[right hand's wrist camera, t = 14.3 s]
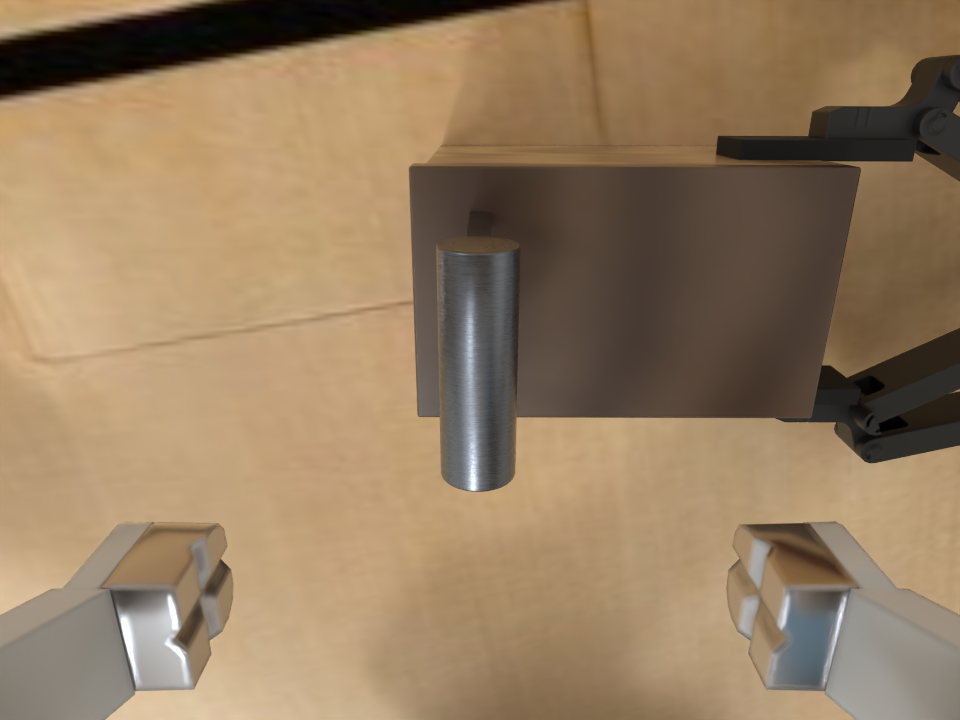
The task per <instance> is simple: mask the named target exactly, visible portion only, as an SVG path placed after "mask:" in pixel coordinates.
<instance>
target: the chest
mask: <svg viewBox="0 0 960 720" xmlns="http://www.w3.org/2000/svg"><path fill="white" fill-rule="evenodd" d="M716 149H717V146H536V145H442V146H441V147H440V148H439V149H438V151H437V152H436V153H435V154H434V155H433V156H432V158H431V159H430V160H429V161H428V162H427V163H426V164H742V165H842V164H838V163H832V162H827V161H822V160H737V159H733V158H728V157H724V156H720V155H716Z"/></svg>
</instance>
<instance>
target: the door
mask: <svg viewBox="0 0 960 720" xmlns="http://www.w3.org/2000/svg"><path fill="white" fill-rule="evenodd" d="M860 171H861V168H859V167H855V166H849V165H742V164H412V165H411V166H410V167H409V183H410V211H411V240H412V269H413V297H414V326H415V354H416V383H417V412H418V416H419V417H440V444H441V474H442V477H443V479H444V480H445V481H446V482H447V483H448V484H450V485H451V486H453V487H456V488H458V489H462V490H466V491H475V492H481V491H490V490H495V489H498V488H501V487H503V486H505V485H507V484H508V483H509V482H510V481H511V480H512V479H513V477H514V475H515V457H516V417H622V418H811V416H812V411H813V406H814V401H815V396H816V391H817V386H818V381H819V376H820V371H821V366H822V361H823V356H824V351H825V346H826V341H827V336H828V331H829V326H830V321H831V316H832V311H833V306H834V301H835V296H836V291H837V286H838V281H839V276H840V271H841V266H842V261H843V256H844V251H845V246H846V241H847V236H848V231H849V226H850V221H851V216H852V211H853V206H854V201H855V196H856V191H857V186H858V181H859V176H860Z"/></svg>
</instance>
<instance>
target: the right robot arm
mask: <svg viewBox="0 0 960 720" xmlns="http://www.w3.org/2000/svg"><path fill="white" fill-rule="evenodd" d="M226 548H227V542H226V537H225V532H224V528H223V527H222V526H220V525H219V524H218V523H174V522H157V523H154V522H125V523H122V524H119V525H117V526H116V527H115V528H114V529H113V531H112V532H111V533H110V534H109V535H108V536H107V538H106V539H105V540H104V541H103V542H102V543H101V544H100V546H99V547H98V548H97V549H96V550H95V551H94V553H93V554H92V555H91V556H90V557H89V558H88V560H87V561H86V562H85V563H84V564H83V565H82V566H81V568H80V569H79V570H78V571H77V572H76V573H75V575H74V576H73V577H72V578H71V579H70V580H69V582H68V583H67V584H66V585H65V586H64V587H63V589H51V590H49V591H47V592H45V593H43V594H41V595H39V596H37V597H35V598H33V599H31V600H29V601H27V602H25V603H23V604H21V605H19V606H17V607H15V608H13V609H11V610H9V611H8V612H6V613H4V614H2V615H0V720H105V719H106V718H107V717H109V716H110V715H111V714H112V713H113V712H115V711H116V710H117V709H118V708H119V707H120V706H122V705H123V704H124V703H125V702H126V701H127V700H129V699H130V698H131V697H132V696H133V695H135V692H134V691H153V690H187V689H194V688H195V686H196V684H197V682H198V680H199V678H200V676H201V674H202V672H203V670H204V668H205V666H206V664H207V662H208V660H209V658H210V656H211V648H210V643H209V640H211V639H212V638H214V637H215V636H216V635H218V634H219V633H221V632H222V631H223V629H224V627H225V624H226V622H227V620H228V618H229V614H230V610H231V605H232V600H233V579H232V572H231V569H230V568H229V567H228V566H227V565H226V564H225V563H224V562H223V561H222V560H221V557H222V555H223V553H224V551H225V550H226ZM733 548H734V550H735V551H736V553H737V555H738V557H739V560H738V561H737V562H736V563H735V564H734V565H733V566H732V567H731V568H730V569H729V572H728V580H727V599H728V607H729V610H730V614H731V618H732V620H733V622H734V624H735V627H736V629H737V631H738V632H739V633H741V634H742V635H744V636H745V637H746V638H748V639H749V640H751V643H750V648H749V656H750V658H751V660H752V662H753V664H754V666H755V668H756V670H757V672H758V674H759V676H760V678H761V680H762V682H763V684H764V686H765V688H766V689H771V690H807V691H825V694H826V695H827V696H828V697H829V698H830V699H832V700H833V701H834V702H835V703H836V704H838V705H839V706H840V707H841V708H842V709H843V710H845V711H846V712H847V713H848V714H849V715H850V716H852V717H853V718H854V719H855V720H960V615H958V614H956V613H954V612H952V611H950V610H948V609H947V608H945V607H943V606H941V605H939V604H937V603H935V602H933V601H931V600H929V599H927V598H925V597H923V596H921V595H919V594H917V593H915V592H913V591H911V590H909V589H897V587H896V586H895V585H894V584H893V583H892V582H891V580H890V579H889V578H888V577H887V576H886V575H885V573H884V572H883V571H882V570H881V569H880V568H879V567H878V565H877V564H876V563H875V562H874V561H873V560H872V558H871V557H870V556H869V555H868V554H867V553H866V551H865V550H864V549H863V548H862V547H861V546H860V545H859V543H858V542H857V541H856V540H855V539H854V538H853V536H852V535H851V534H850V533H849V532H848V531H847V529H846V528H845V527H844V526H843V525H841V524H839V523H837V522H807V523H791V524H739V526H738V528H737V530H736V532H735V536H734V541H733Z"/></svg>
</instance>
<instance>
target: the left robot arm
mask: <svg viewBox="0 0 960 720" xmlns="http://www.w3.org/2000/svg"><path fill="white" fill-rule="evenodd" d="M911 83H912V85H911V87H910V89H909V90H908V92H907V94H906V95H905V96H904V98H903V99H902V100H901V101H899V102H898V103H896V104H894V105H891V106H826V107H823V108H821V109H818V110H815V111H813V112H812V118H811V124H810V130H809V135H808V136H718V141H717V149H716V155H720V156H724V157H728V158H733V159H737V160H822V161H913V157H914V153H916V154H918V155H919V156H921V157H922V158H924V159H925V160H927V161H929V162H930V163H932V164H933V165H935V166H936V167H938V168H940V169H941V170H943V171H944V172H946V173H947V174H949V175H951V176H952V177H954V178H955V179H957V180H958V181H960V117H958V116H957V115H955V114H954V113H952V112H953V110H954V109H955V107H956V105H957V104H958V102H960V55H951V56H940V57H930V58H925V59H923V60H921V61H920V62H918V63H917V64H916V65H915V67H914V68H913V70H912V73H911ZM958 389H960V328H959V329H957V330H954V331H952V332H950V333H948V334H945V335H943V336H941V337H939V338H936V339H934V340H932V341H929V342H927V343H925V344H923V345H920V346H918V347H916V348H914V349H911V350H909V351H907V352H905V353H902V354H900V355H898V356H895V357H893V358H891V359H889V360H886V361H884V362H882V363H880V364H877V365H875V366H873V367H870V368H868V369H866V370H864V371H861V372H859V373H857V374H855V375H852V376H850V377H848V378H846V377H845V376H843V375H842V374H841V373H839V372H838V371H837V370H835V369H834V368H833V367H832V366H821V371H820V376H819V381H818V386H817V391H816V396H815V401H814V406H813V411H812V416H811V418H776V419H778V420H781V421H783V422H837V423H836V424H835V428H834V430H835V434H836V435H837V436H839V437H840V438H841V439H842V440H843V441H844V442H845V443H846V444H847V445H848V446H849V447H850V448H851V449H852V450H853V451H854V452H855V453H856V454H857V455H858V456H860V457H861V458H862V459H863V460H864V461H865V462H868V463H877V462H882V461H886V460H891V459H896V458H901V457H906V456H911V455H915V454H920V453H925V452H930V451H935V450H939V449H944V448H949V447H954V446H959V445H960V392H955V393H951V392H954V391H956V390H958ZM949 393H950V394H949Z"/></svg>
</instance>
